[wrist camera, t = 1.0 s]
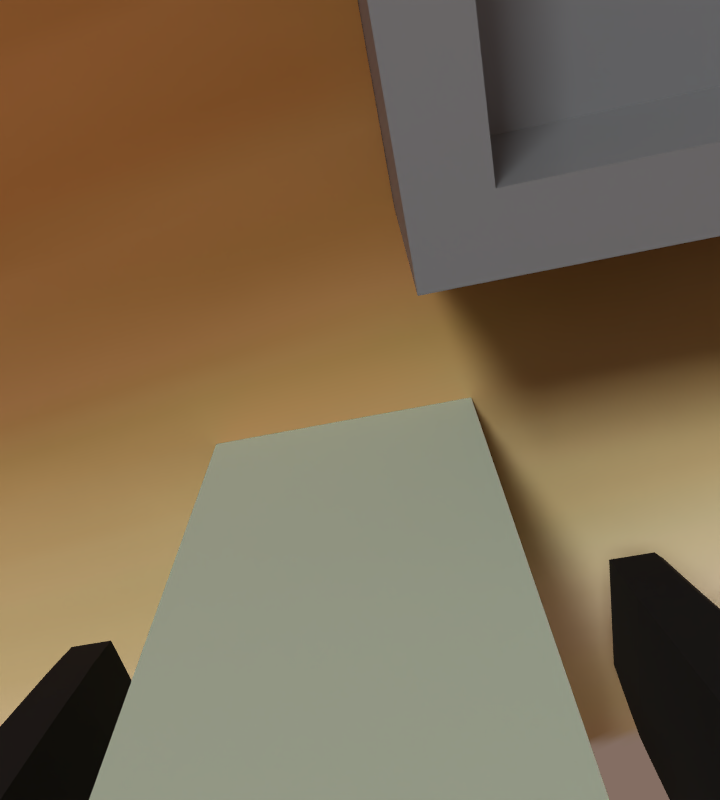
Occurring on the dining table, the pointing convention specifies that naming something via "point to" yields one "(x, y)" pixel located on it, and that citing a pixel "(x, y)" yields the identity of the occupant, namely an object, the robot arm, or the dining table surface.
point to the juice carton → (352, 631)
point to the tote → (545, 130)
